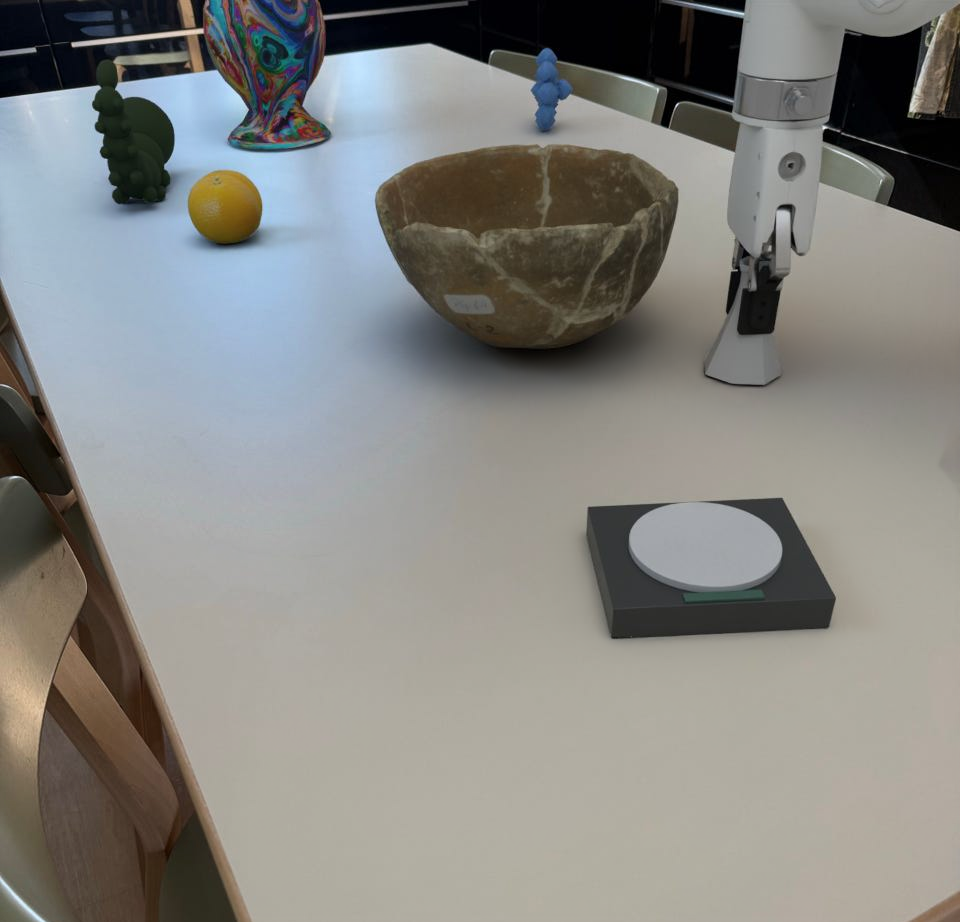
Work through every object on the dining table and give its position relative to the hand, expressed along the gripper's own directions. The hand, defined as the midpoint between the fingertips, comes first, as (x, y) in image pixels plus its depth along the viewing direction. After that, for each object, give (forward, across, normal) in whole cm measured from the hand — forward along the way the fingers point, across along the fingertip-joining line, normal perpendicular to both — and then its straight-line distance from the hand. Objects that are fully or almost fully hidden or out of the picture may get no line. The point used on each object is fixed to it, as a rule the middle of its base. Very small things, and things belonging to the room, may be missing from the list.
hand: (749, 322), depth 91 cm
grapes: (+5, +92, +8) cm, 92 cm away
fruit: (+5, +43, +53) cm, 68 cm away
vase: (+5, +93, +52) cm, 107 cm away
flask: (+5, 0, 0) cm, 5 cm away
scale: (+5, -32, +11) cm, 34 cm away
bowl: (+5, +9, +19) cm, 22 cm away
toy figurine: (+5, +65, +68) cm, 94 cm away
